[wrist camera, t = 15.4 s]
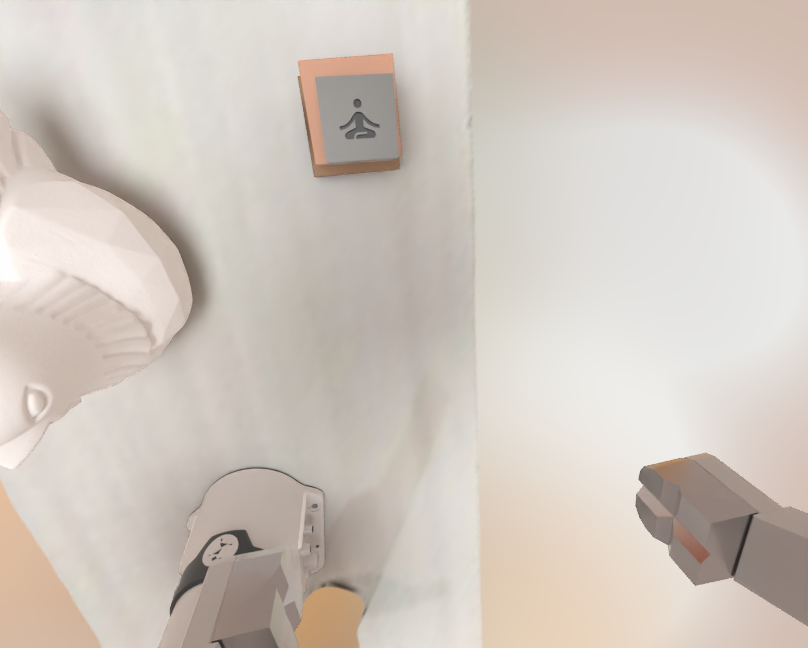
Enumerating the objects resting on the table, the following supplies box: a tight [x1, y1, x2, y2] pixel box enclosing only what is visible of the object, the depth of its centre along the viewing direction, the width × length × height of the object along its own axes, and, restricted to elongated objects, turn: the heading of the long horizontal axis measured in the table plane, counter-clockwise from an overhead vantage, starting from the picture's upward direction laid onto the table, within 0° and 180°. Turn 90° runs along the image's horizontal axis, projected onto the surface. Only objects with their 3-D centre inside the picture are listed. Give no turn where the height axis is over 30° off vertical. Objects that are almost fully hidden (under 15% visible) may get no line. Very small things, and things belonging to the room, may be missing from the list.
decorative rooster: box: [0, 110, 193, 469], centre depth 27 cm, size 25×16×25 cm, turn 179°
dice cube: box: [315, 73, 399, 165], centre depth 27 cm, size 5×5×5 cm
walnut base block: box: [298, 76, 399, 177], centre depth 36 cm, size 8×8×5 cm
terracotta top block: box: [298, 54, 402, 166], centre depth 31 cm, size 7×7×5 cm
